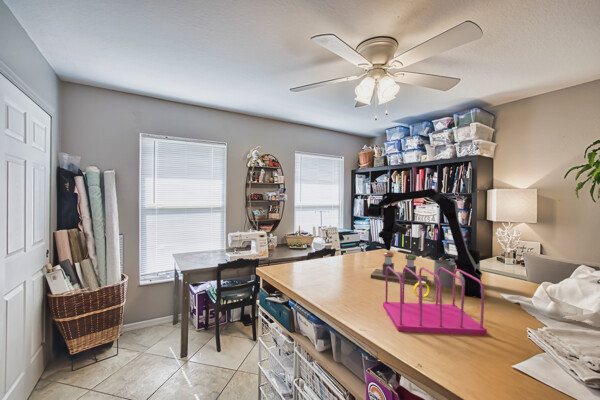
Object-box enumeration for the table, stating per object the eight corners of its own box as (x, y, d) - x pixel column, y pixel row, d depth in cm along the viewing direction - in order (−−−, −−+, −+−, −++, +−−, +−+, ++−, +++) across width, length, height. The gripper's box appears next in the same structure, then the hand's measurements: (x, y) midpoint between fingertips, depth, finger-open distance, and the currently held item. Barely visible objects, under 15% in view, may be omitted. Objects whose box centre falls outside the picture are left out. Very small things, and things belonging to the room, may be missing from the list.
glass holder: (482, 283, 121) (483, 251, 121) (475, 291, 111) (476, 255, 110) (460, 279, 127) (461, 248, 127) (452, 286, 117) (453, 252, 116)
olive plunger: (415, 271, 121) (415, 256, 121) (404, 269, 123) (404, 255, 123) (416, 268, 125) (416, 255, 125) (405, 267, 127) (406, 253, 127)
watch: (426, 295, 106) (427, 281, 106) (430, 298, 103) (431, 283, 103) (411, 294, 106) (413, 280, 105) (415, 297, 103) (416, 282, 103)
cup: (449, 282, 123) (450, 260, 123) (458, 288, 115) (459, 265, 114) (430, 281, 124) (431, 259, 123) (438, 287, 115) (438, 264, 115)
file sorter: (382, 306, 94) (383, 262, 94) (455, 309, 93) (456, 265, 93) (398, 331, 77) (399, 278, 77) (487, 335, 76) (489, 281, 75)
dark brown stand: (426, 287, 115) (426, 272, 115) (370, 278, 127) (370, 264, 127) (427, 279, 126) (427, 265, 126) (376, 271, 137) (376, 259, 137)
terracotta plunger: (392, 268, 125) (392, 254, 125) (382, 266, 128) (382, 253, 127) (393, 265, 130) (394, 252, 129) (384, 264, 132) (384, 251, 132)
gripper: (404, 220, 116) (403, 256, 116) (409, 217, 133) (408, 248, 133) (378, 219, 121) (378, 253, 122) (386, 216, 138) (385, 246, 138)
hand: (388, 250), depth 128 cm, fingers closed
